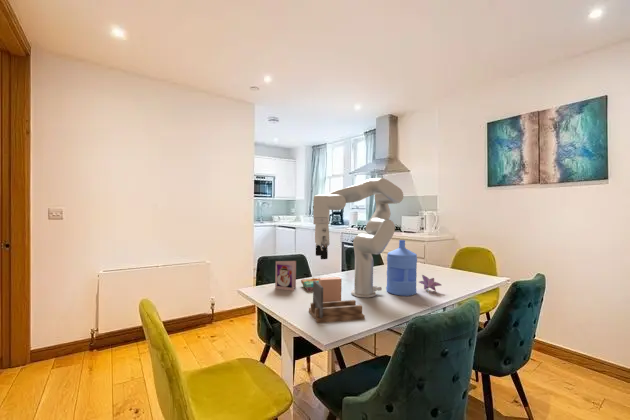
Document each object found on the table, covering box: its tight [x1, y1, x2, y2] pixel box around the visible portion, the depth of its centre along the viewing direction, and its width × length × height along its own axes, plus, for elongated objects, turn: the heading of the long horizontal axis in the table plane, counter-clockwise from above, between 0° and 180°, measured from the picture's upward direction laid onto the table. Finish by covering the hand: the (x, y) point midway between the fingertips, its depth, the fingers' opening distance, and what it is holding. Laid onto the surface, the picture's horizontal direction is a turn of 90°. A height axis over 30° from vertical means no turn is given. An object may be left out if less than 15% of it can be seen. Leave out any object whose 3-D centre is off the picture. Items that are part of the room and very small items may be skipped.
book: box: [318, 276, 343, 302], centre depth 146 cm, size 10×4×12 cm, turn 105°
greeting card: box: [274, 260, 297, 292], centre depth 173 cm, size 11×7×15 cm, turn 68°
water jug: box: [385, 239, 418, 297], centre depth 168 cm, size 16×16×28 cm
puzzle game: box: [300, 277, 319, 292], centre depth 176 cm, size 12×5×20 cm
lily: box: [418, 274, 442, 294], centre depth 170 cm, size 11×11×9 cm
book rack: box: [308, 281, 366, 324], centre depth 131 cm, size 20×14×14 cm
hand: (321, 257), depth 147 cm, fingers open, 9 cm apart
